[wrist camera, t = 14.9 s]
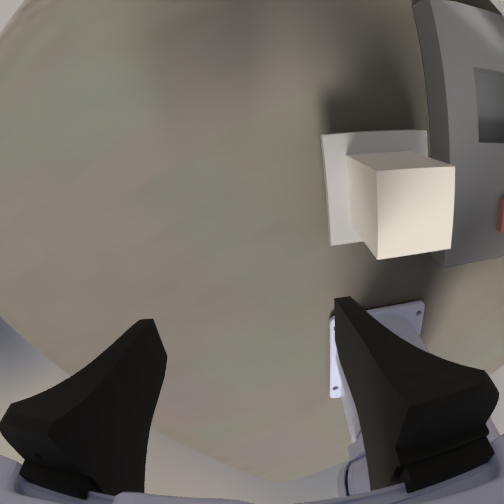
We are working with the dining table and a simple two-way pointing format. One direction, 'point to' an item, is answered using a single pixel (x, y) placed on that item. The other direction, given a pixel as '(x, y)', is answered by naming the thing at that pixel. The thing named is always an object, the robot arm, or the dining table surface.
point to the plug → (387, 192)
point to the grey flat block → (467, 120)
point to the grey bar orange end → (499, 5)
